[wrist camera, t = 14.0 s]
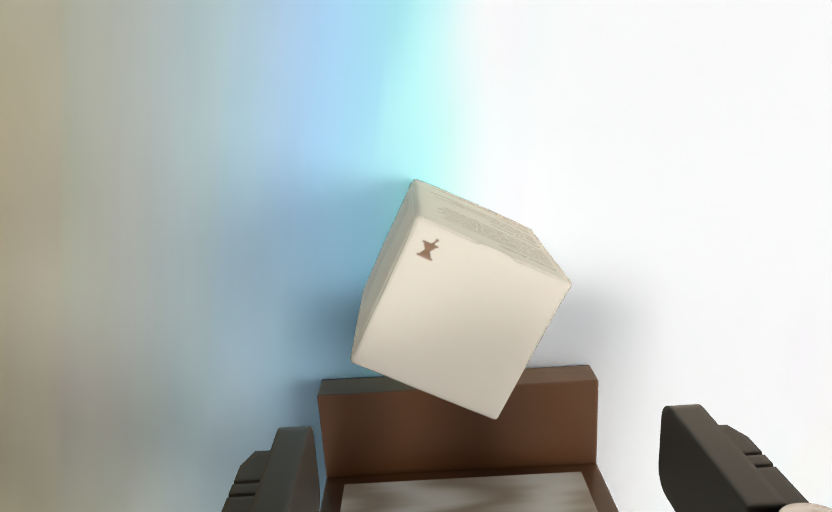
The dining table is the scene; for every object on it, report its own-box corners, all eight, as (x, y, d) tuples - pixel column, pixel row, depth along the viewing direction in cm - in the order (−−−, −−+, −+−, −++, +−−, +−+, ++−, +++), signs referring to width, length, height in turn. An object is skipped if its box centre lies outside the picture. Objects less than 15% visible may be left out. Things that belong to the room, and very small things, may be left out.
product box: (359, 292, 30) (343, 362, 23) (413, 173, 28) (415, 210, 21) (477, 342, 31) (497, 425, 24) (537, 229, 29) (577, 282, 22)
